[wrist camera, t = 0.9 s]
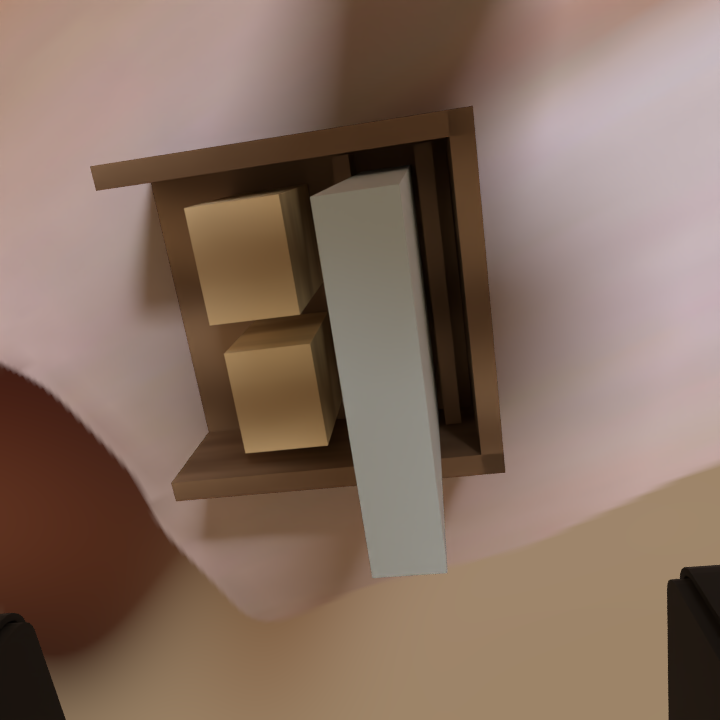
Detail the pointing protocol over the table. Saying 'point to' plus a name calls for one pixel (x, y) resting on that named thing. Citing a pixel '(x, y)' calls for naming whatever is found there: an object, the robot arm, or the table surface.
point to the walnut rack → (441, 279)
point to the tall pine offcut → (256, 254)
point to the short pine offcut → (285, 382)
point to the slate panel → (385, 365)
